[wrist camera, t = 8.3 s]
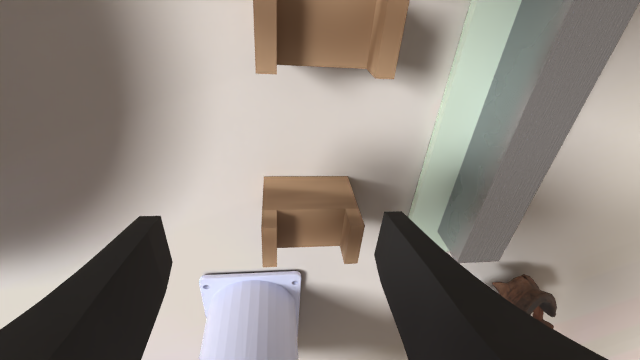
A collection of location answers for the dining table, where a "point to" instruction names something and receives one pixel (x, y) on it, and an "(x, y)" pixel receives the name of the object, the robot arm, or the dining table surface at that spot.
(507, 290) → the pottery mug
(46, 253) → the dining table surface
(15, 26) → the dining table surface
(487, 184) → the rail
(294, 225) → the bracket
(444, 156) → the mat
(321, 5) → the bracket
